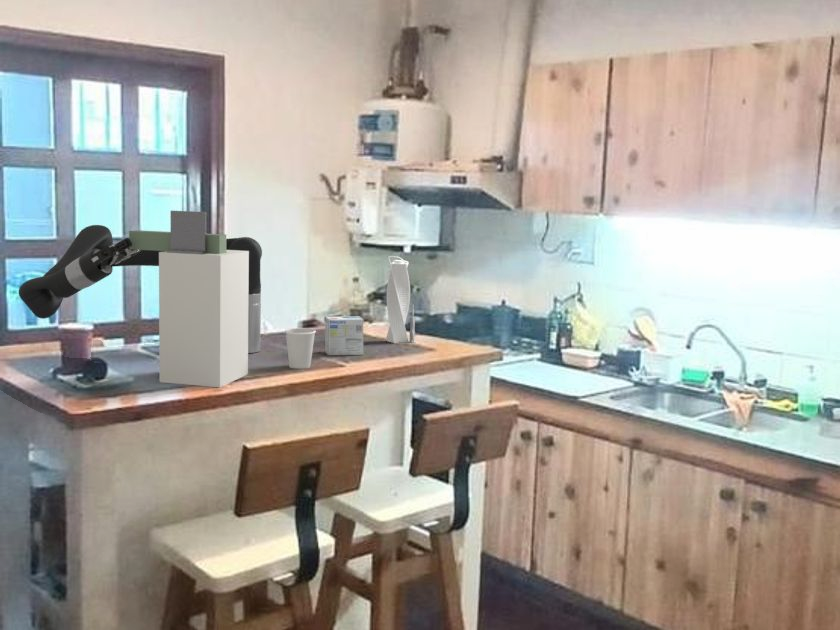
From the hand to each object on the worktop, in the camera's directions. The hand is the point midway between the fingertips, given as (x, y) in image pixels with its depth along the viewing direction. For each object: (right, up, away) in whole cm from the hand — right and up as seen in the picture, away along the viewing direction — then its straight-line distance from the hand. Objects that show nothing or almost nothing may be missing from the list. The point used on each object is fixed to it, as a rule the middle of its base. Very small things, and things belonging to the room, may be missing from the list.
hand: (139, 240), depth 236 cm
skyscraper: (+63, -28, +67) cm, 96 cm away
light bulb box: (+47, -30, +44) cm, 72 cm away
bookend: (+14, -4, -6) cm, 16 cm away
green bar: (+10, -3, -2) cm, 11 cm away
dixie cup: (+37, -33, +22) cm, 54 cm away
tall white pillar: (+16, -35, +4) cm, 38 cm away
